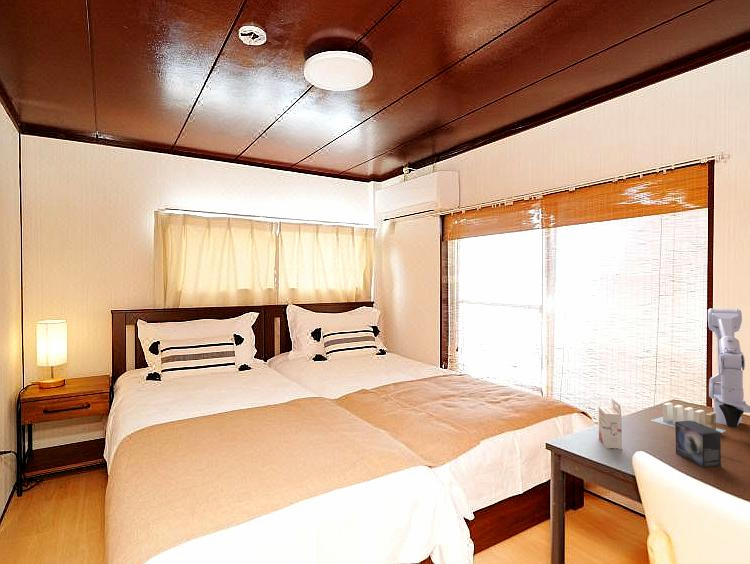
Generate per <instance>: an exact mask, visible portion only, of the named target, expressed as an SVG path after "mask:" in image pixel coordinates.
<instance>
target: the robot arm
mask: <svg viewBox="0 0 750 564" xmlns="http://www.w3.org/2000/svg"><path fill="white" fill-rule="evenodd" d="M742 316H743V314H742V311H741V309H740V308H737V309H736V308H734V309H733V308H709V309H707V322H708V323H707V324H708V325H707V326H708V328H709V329H708V330H710V331H712V332H713V333H714V335H715V337H716V354H717V374H715V375H713V376H711V377H710V378H709V380H708V382H709V384H708V396H709V397H710V398H711V399H712V400H713V413H716V424H720V425H722V426H723V425H724V426H727V427H729V428H730V429H731V428H733V429H735V428H738V426H739V424H743V418H742V416H743V414H745V413H746V414H748V413H750V405H748V404H747V403H746V400H744V397H745V396H744V394H745V393H744V386H743V385H744V383H743V381H744V379H743V377H744V376H743V374H744V373H743V372H744V370H745V367H746V359H745V356H744V353H743V352H742V351H741V346H740V340H739V339H738V338H736V337H735V333H737V332H739V331H740V329H741V325H742V323H743V317H742Z"/></svg>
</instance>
